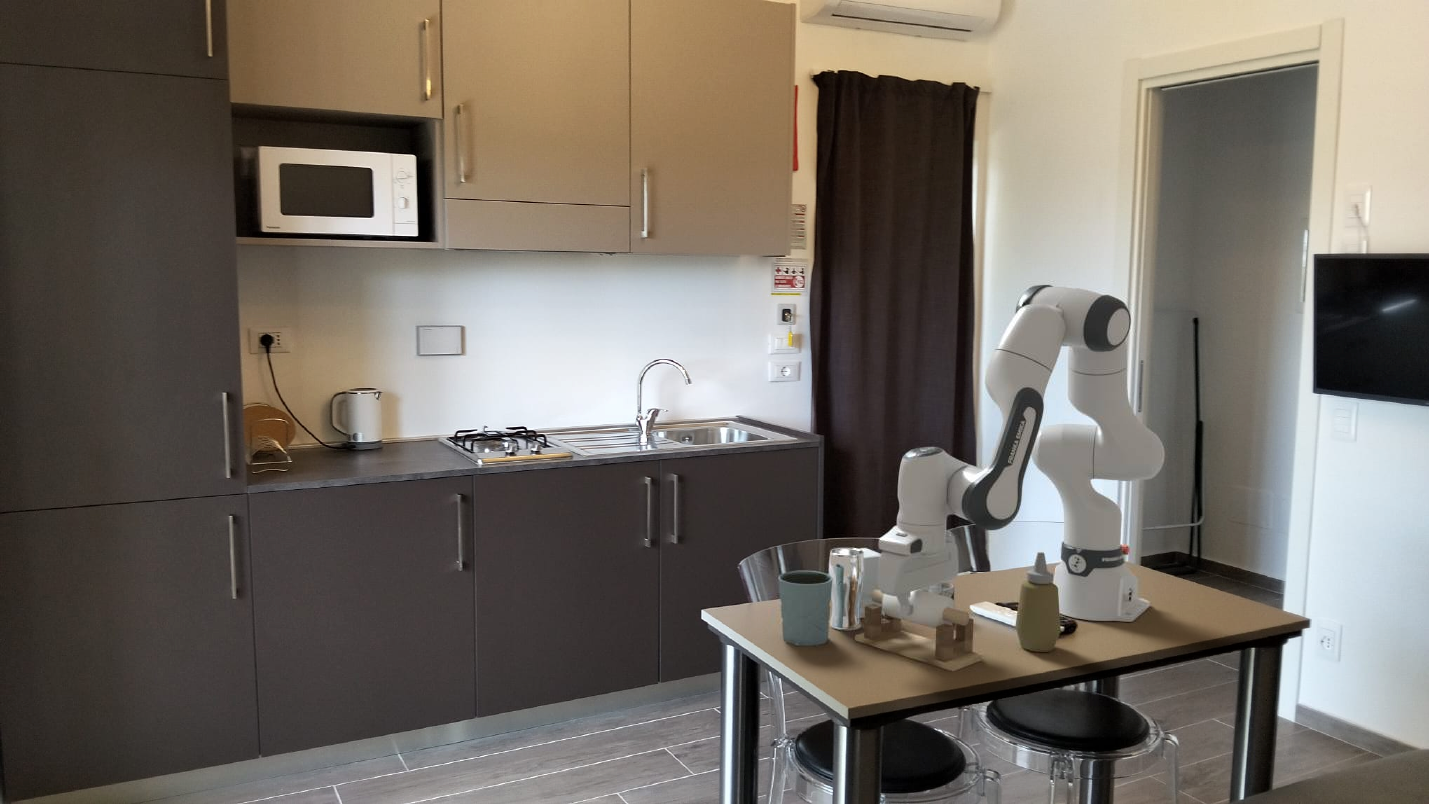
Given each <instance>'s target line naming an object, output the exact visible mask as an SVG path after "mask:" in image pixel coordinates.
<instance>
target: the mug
mask: <svg viewBox="0 0 1429 804" xmlns="http://www.w3.org/2000/svg"><path fill="white" fill-rule="evenodd" d="M929 588H930V587H925V588H922V589H920V590H921V591H925V592H928V591H929ZM939 595H942V596H946V597H950V598H952V599H953V600H954V601H955V585H954V584H953V583H951V582H949V581H946V582H943V583H942V588H941V591H940V593H939Z"/></svg>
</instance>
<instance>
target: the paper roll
mask: <svg viewBox="0 0 1429 804" xmlns="http://www.w3.org/2000/svg"><path fill="white" fill-rule="evenodd" d="M871 599H872V601H873V602H876V603H880V604H882V606H883V614H884V615H885V614H886V615H888V616H891V617H895V618H898V619H901V621H902V620H903V621H906V622H910V623H913V624H916V625H917V624H918V625H920V626H924V627H928V628H931V629H935V630H936V626H939V625H942V624H948V625H951V626H953V624H955V625H956V624H960V625H963V626H965V625H967V623H968V621H969V618H970V614H969V612H968V611H967V612H966V611H964V610H959V609H957V607H956V602H955V599H954V600H953V599H952V598H950V597H946V596H942V595H937V594H933V593H929V592H925V591H921V589H919V590H915V591H912V592H910V597H909V598H908V599H909V602H910V605H913V613H912V614H911V615H908V616H905V615H902V614H901V613H900V603H899V601H898V599H897V597H896V596H891V595H887V594H883V593H881V591H880V590H877V589H876V590H874V591H873V592H872V595H871Z"/></svg>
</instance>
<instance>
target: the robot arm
mask: <svg viewBox="0 0 1429 804" xmlns="http://www.w3.org/2000/svg"><path fill="white" fill-rule="evenodd" d="M1014 313H1015V314H1014V315H1013V317H1012V319H1011V320H1010V321H1009V323H1008V325H1007V326H1006V328H1005V330H1004V331H1003V333H1002V335H1001V337H1000V339H999V340H998V343H997V344H996V346H995V348H994V351H993V353H992V356H991V358H990V360H989V363H988V365H987V368H986V372H985V377H984V384H985V388H986V390H987V391H986V392H987V393H988V395H989V397H990V398H991V400H992V401H993V402H994V404H996V405H997V407H998V408H999V411H1000V412H1001V418H1002V424H1001V429H1000V432H999V434H998V437H997V440H996V443H995V447H994V449H993V452H992V457H991V459H990V462H989V463H988V465H987V466H986V467H985V468H981V467H979V466H975V465H972V464H969V463H967V462H964V461H962V460H959V459H957V458H956V457H953V456H951V455H950V454H949V453H947V452H946V451H945V450H944V449H943V448H941V447H938V446H923V447H921V446H920V447H917V448H913V449H910V450H909V451H907V452H906V453H905V454H904V455H903V456H902V459H901V462H900V466H899V470H898V471H899V472H898V481H897V482H898V483H897V499H898V503H899V505H898V506H899V509H898V513H897V516H896V525H894V526H893V527H892V528H891V529H890V530H889V531H888V532H886V533H885V534H884V535H882V536H881V537H880V538H879V540H878V549H879V550H881V553H879V554H880V557H879V563H878V587H879V589H880V591H881V593H883V594H887V595H891V596H896V597H897V599H898V601H899V603H900V613H901V614H902V615H905V616H908V615H911V614H912V613H913V605H910V602H909V599H908V598H909V597H910V592H912V591H915V590H921V589H922V588H925V587H930V588H929V591H928V592H929V593H933V594H937V595H939V593H940V591H941V588H942V583H943V582H949V581H953V580H955V579H956V578H957V576H958V574H959V570H960V569H959V566H960V565H959V551H958V545H957V543H956V542H955V541H956V538H955V537H956V536H955V535H954V534H953V533H952V532H951V530H950V529H949V530H948V529H947V518H948V516H950V515H955V516H957V517H959V518H962V519H963V520H966V521H969V522H970V523H971V524H974V525H975V526H976V527H978V528H980V529H982V530H985V531H998V530H1000V529H1001V530H1002V529H1003V528H1005V527H1007V526H1008V525H1010V524H1011V522H1012V521H1014V520H1015V518H1016V517H1017V515H1018V514H1019V512H1020V508H1021V505H1022V498H1023V485H1024V478H1025V475H1026V471H1027V469H1028V466H1029V463H1030V462H1029V461H1030V460H1031V459H1032V462H1033V464H1034V465H1035V467H1036V468H1037V469H1038V470H1039V471H1040V472H1041V473H1042V474H1043V475H1045V476H1046V477H1047V478H1048V479H1049V480H1050V481H1051V483H1052V484H1053V485H1054V487H1055V488H1056V490H1057V492H1058V494H1059V497H1060V499H1061V503H1062V508H1063V525H1064V526H1063V527H1064V528H1063V529H1064V530H1063V541H1062V542H1061V547H1060V559H1061V562H1060V563H1059V564H1057V565H1056V566H1055V568H1054V574H1053V583H1054V584H1055V585H1056V586H1057V587H1058V596H1059V611H1060V615H1063V616H1067V617H1070V618H1074V619H1080V620H1087V621H1095V622H1112V621H1113V622H1114V621H1115V622H1128V623H1130V622H1131V623H1132V622H1134V621H1135V620H1137V618H1138V617H1140V615H1142V614H1143V613H1144V612H1145V611H1146V610H1148V609H1149V607H1150V605H1151V603H1150V601H1149V600H1148V599H1144V598H1142V597H1139V580H1138V578H1137V577H1136V575H1134V573H1132V572H1131V571H1130V569H1129V568H1128V567H1127V566H1126V565H1125V556H1129V554H1130V546H1129V544H1127V545H1125V544H1124V545H1123V544H1121V541H1122V540H1121V539H1122V521H1123V519H1122V518H1123V515H1122V514H1123V513H1122V511H1121V509H1120V507H1119V505H1118V504H1117V503H1115V502H1114V501H1113V500H1112V499H1110V498H1109V497H1107V496H1105V495H1103V494H1101V493H1100V492H1098V491H1097V490H1096V489H1095V488H1094V487H1093V485H1092V480H1107V481H1120V482H1135V481H1145V480H1151V479H1153V478H1155V477H1156V475H1157V474H1159V472H1160V471H1161V469H1162V468H1163V465H1164V462H1165V458H1166V457H1165V456H1166V455H1165V448H1164V445H1163V442H1162V440H1161V439H1160V437H1159V436H1158V435H1157V434H1156V433H1155V432H1154V431H1152V430H1151V429H1150V428H1148V427H1146V425H1144V424H1143V423H1142V422H1141V421H1140V420H1139V419H1138V417H1137V415H1136V414H1135V413H1134V410H1133V409H1132V406H1131V403H1130V400H1129V390H1128V348H1127V347H1128V346H1127V337H1128V335H1129V333H1130V329H1131V325H1132V324H1131V323H1132V318H1131V313H1130V311H1129V308H1128V307H1127V305H1126V303H1125V302H1124V301H1123V300H1121V299H1119V298H1117V297H1115V296H1112V295H1110V294H1101V293H1098V292H1095V291H1091V290H1088V289H1083V288H1080V287H1079V288H1077V287H1075V288H1072V287H1065V286H1064V287H1062V286H1053V285H1052V284H1051V285H1050V284H1038V285H1033V286H1030V287H1029V288H1028V289H1027V290H1025V292H1023V293H1022V294H1021V295H1020V297H1019V299H1018V301H1017V303H1016V306H1015V312H1014ZM1062 347H1068V355H1067V397H1068V400H1069V402H1070V404H1071V406H1072V407H1074V409H1075V410H1077V412H1079V413H1081V414H1082V415H1085V416H1087V417H1088V418H1090V419H1092V420H1093V421H1094V422H1095V423H1096V424H1097V425H1096V424H1095V425H1092V424H1074V423H1060V424H1052V425H1051V424H1050V425H1045V426H1042V427H1041V423H1042V420H1043V416H1044V408H1045V403H1044V399H1045V393H1046V391H1047V390H1046V389H1047V387H1048V385H1049V381H1050V379H1051V376H1052V373H1053V371H1054V369H1055V367H1056V364H1057V361H1058V358H1059V356H1060V352H1061V349H1062Z"/></svg>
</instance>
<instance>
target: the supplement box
mask: <svg viewBox="0 0 1429 804" xmlns="http://www.w3.org/2000/svg"><path fill="white" fill-rule="evenodd" d="M858 549H859V550H862V551H863V552H864V584H863V590H862V595H861V599H860V605H859V616H860V619H863V618H864V619H865V606H868V605H871V604H875V605H879V606H882V604H880V603H876V602H873V601H872V599H871V595H872V592H873V591H874V590H876V589H877V590H880V589H879V587H878V563H879V557H880V554H881V553H879V552H877V551H875V550H872V549H869V548H867V547H861V548H858ZM883 615H884V611H883V606H882V615H881V616H883Z"/></svg>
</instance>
